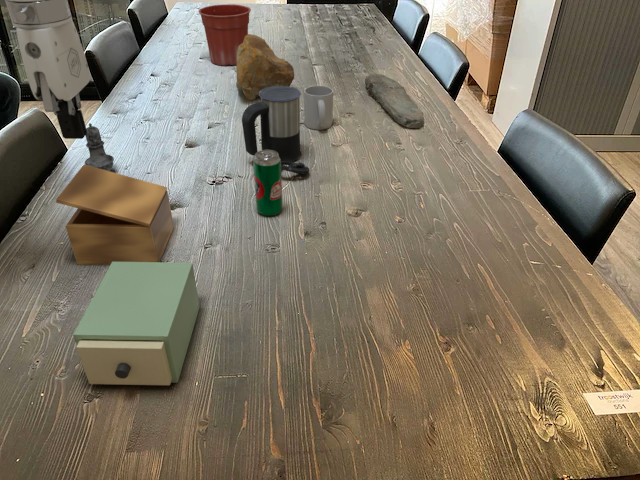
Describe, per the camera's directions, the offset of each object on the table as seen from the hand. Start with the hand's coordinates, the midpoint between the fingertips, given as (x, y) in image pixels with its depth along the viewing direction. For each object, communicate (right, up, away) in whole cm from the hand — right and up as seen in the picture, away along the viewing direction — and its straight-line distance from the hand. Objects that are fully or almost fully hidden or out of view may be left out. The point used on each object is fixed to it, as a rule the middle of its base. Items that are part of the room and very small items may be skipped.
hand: (75, 136), depth 84 cm
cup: (+38, +13, +54) cm, 67 cm away
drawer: (+13, -31, -9) cm, 35 cm away
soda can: (+28, -10, +22) cm, 37 cm away
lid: (+4, -9, +6) cm, 11 cm away
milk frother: (+30, +1, +38) cm, 49 cm away
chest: (+4, -17, +12) cm, 21 cm away
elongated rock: (+58, +22, +67) cm, 91 cm away
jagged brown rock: (+22, +27, +74) cm, 82 cm away
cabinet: (+14, -30, -7) cm, 34 cm away
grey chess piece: (-9, -2, +33) cm, 34 cm away
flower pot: (+7, +44, +98) cm, 107 cm away
